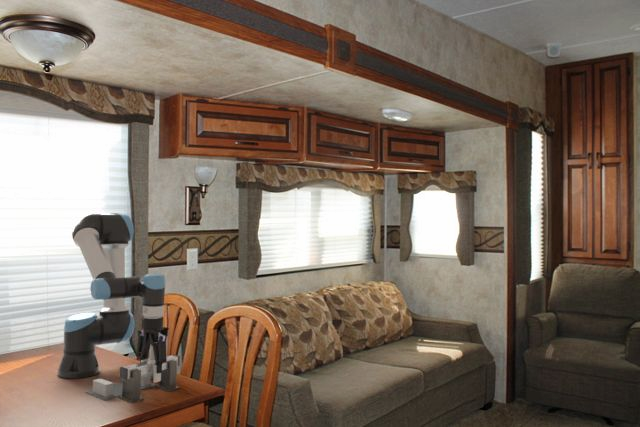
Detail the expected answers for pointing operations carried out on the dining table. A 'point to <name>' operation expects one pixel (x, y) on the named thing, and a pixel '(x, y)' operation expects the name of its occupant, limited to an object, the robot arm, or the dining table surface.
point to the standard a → (132, 388)
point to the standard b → (169, 378)
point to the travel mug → (164, 332)
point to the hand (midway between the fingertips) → (150, 379)
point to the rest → (114, 388)
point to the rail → (146, 367)
